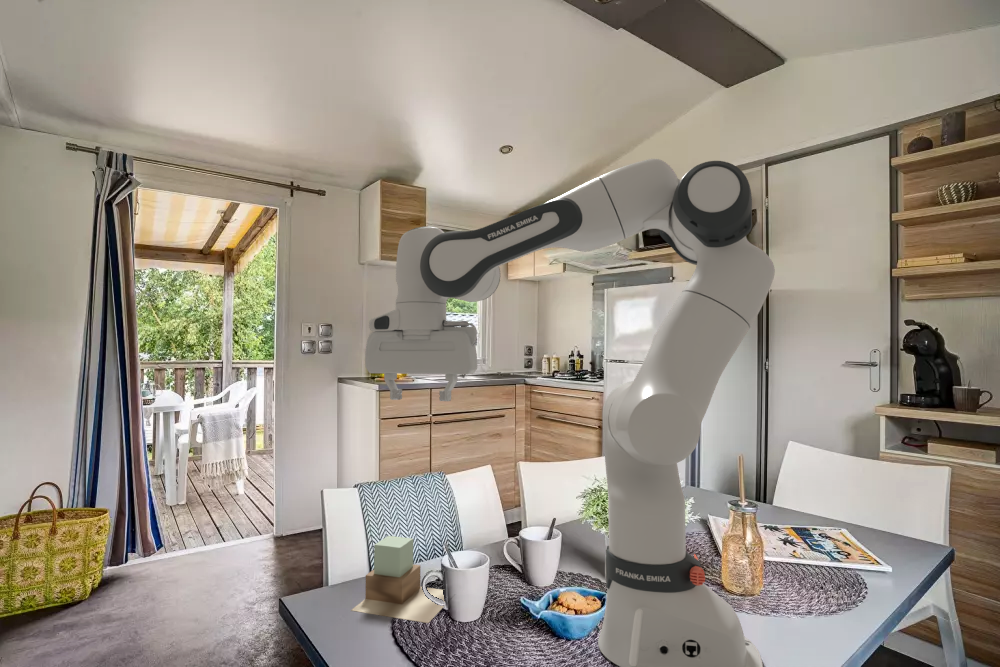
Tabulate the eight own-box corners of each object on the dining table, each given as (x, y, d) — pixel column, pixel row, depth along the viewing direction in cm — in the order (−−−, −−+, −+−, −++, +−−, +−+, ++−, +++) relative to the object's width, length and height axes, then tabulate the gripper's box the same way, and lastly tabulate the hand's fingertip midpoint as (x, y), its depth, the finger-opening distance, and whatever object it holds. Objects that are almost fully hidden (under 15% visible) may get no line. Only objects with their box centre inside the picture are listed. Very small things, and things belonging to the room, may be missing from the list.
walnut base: (420, 587, 100) (420, 565, 100) (401, 604, 93) (402, 580, 93) (385, 582, 102) (386, 560, 102) (365, 598, 95) (365, 575, 95)
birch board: (457, 597, 98) (457, 591, 98) (428, 629, 87) (428, 622, 87) (387, 587, 102) (387, 581, 102) (350, 616, 91) (350, 610, 91)
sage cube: (413, 566, 99) (413, 538, 99) (399, 577, 94) (400, 547, 95) (388, 563, 101) (388, 535, 101) (374, 573, 96) (374, 544, 96)
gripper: (483, 321, 97) (482, 400, 96) (379, 323, 103) (378, 397, 102) (470, 318, 91) (469, 403, 90) (360, 320, 97) (359, 400, 96)
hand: (420, 400), depth 96 cm, fingers open, 8 cm apart
